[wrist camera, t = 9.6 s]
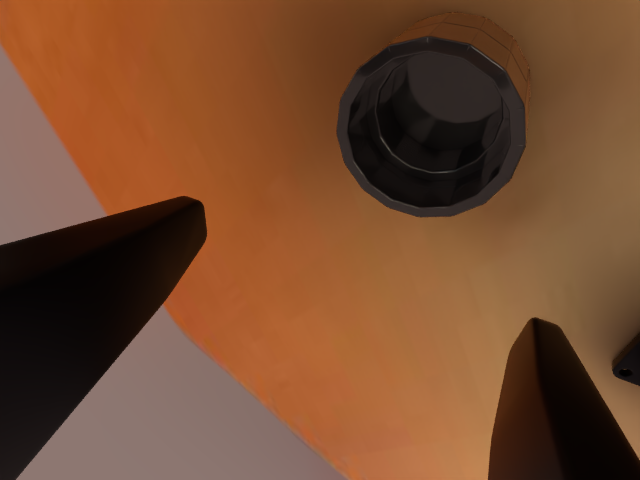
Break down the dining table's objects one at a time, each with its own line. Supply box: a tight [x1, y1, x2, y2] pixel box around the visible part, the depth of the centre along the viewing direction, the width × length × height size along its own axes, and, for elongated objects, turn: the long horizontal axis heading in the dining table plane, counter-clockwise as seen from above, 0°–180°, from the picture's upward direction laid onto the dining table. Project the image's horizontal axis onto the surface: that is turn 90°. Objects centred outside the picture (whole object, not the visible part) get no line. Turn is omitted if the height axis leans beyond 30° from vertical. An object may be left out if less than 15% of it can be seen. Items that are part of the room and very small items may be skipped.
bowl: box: [336, 12, 530, 217], centre depth 14 cm, size 6×6×4 cm
